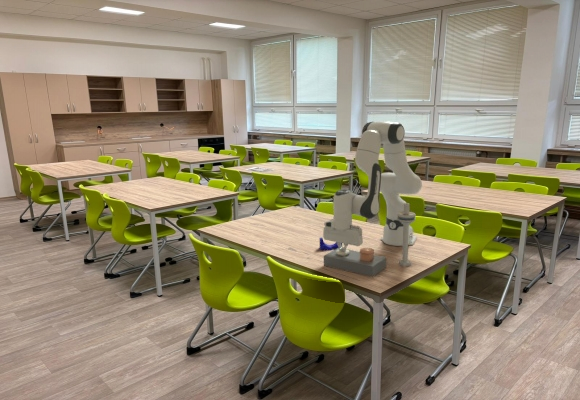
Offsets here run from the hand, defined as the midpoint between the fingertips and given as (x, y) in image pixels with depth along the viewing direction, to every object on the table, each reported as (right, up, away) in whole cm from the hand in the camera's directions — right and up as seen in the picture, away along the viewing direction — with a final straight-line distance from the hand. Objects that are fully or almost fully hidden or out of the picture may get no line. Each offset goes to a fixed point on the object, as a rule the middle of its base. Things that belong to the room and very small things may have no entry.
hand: (342, 251), depth 200 cm
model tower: (+30, -6, -2) cm, 30 cm away
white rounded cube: (0, -6, +1) cm, 6 cm away
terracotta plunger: (+10, -4, -7) cm, 13 cm away
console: (+5, -7, -2) cm, 9 cm away
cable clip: (-3, -2, +24) cm, 25 cm away
